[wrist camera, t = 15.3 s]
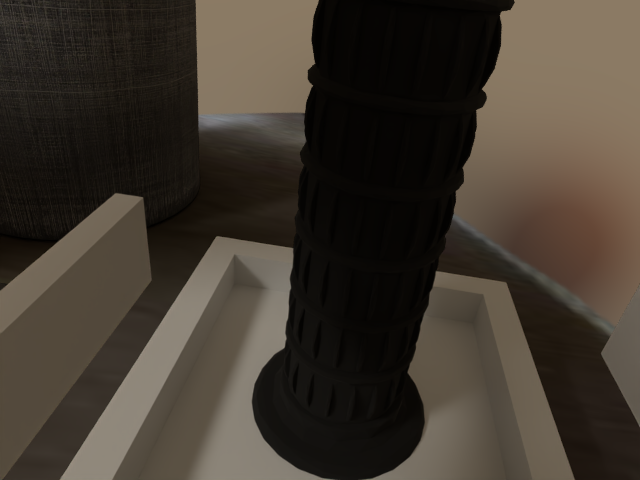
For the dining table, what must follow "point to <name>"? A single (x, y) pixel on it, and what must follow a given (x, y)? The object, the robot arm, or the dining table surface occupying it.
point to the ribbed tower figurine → (372, 225)
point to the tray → (269, 338)
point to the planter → (95, 110)
